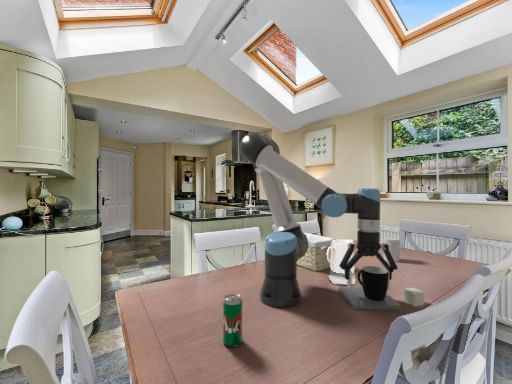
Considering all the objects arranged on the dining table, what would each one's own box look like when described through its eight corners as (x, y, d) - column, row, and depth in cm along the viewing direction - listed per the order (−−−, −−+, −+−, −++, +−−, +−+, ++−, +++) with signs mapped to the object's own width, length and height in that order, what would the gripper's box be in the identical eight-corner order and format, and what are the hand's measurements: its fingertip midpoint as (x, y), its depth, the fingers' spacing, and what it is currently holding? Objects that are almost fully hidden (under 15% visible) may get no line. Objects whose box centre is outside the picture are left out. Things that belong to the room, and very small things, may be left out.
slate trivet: (353, 308, 87) (353, 305, 87) (338, 289, 103) (338, 286, 103) (401, 309, 87) (401, 305, 87) (379, 290, 103) (379, 287, 103)
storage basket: (283, 261, 143) (283, 234, 142) (304, 256, 152) (304, 231, 151) (315, 273, 123) (315, 242, 123) (337, 267, 132) (337, 238, 132)
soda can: (243, 336, 70) (243, 293, 70) (241, 348, 65) (241, 301, 65) (224, 336, 71) (224, 292, 70) (221, 347, 66) (221, 301, 65)
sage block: (414, 306, 89) (414, 293, 89) (403, 301, 93) (403, 288, 93) (424, 304, 90) (424, 292, 90) (412, 299, 94) (412, 287, 94)
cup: (380, 258, 148) (380, 237, 148) (391, 257, 150) (391, 237, 150) (391, 262, 140) (391, 240, 140) (403, 261, 143) (403, 239, 142)
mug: (394, 299, 91) (394, 271, 91) (376, 304, 87) (376, 275, 87) (366, 287, 102) (366, 262, 102) (349, 291, 98) (349, 265, 98)
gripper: (337, 232, 90) (336, 292, 91) (408, 232, 90) (407, 292, 91) (331, 228, 98) (330, 284, 98) (397, 228, 98) (396, 284, 98)
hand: (367, 288), depth 95 cm, fingers open, 13 cm apart
